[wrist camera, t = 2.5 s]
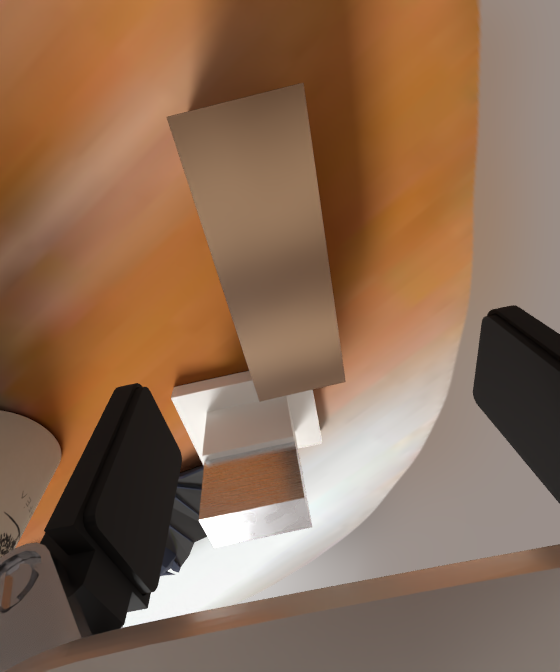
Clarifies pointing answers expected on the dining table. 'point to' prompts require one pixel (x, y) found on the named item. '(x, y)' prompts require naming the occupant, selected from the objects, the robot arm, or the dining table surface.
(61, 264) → the dining table surface
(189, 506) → the decorative bat
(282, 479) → the fulcrum stand
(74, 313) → the dining table surface
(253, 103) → the wooden block
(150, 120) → the dining table surface
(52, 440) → the travel mug
